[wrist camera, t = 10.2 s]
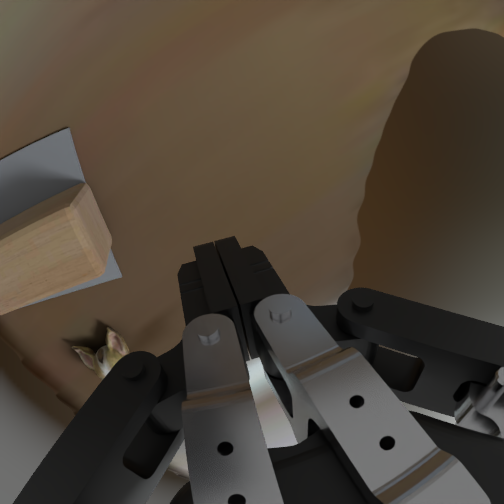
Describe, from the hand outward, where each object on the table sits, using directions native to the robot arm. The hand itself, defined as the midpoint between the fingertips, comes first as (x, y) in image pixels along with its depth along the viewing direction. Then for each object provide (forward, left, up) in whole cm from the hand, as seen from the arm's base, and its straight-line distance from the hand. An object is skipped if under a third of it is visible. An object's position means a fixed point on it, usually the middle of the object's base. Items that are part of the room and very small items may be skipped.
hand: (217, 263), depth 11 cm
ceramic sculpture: (+34, -22, -32) cm, 52 cm away
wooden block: (+7, -12, -27) cm, 30 cm away
